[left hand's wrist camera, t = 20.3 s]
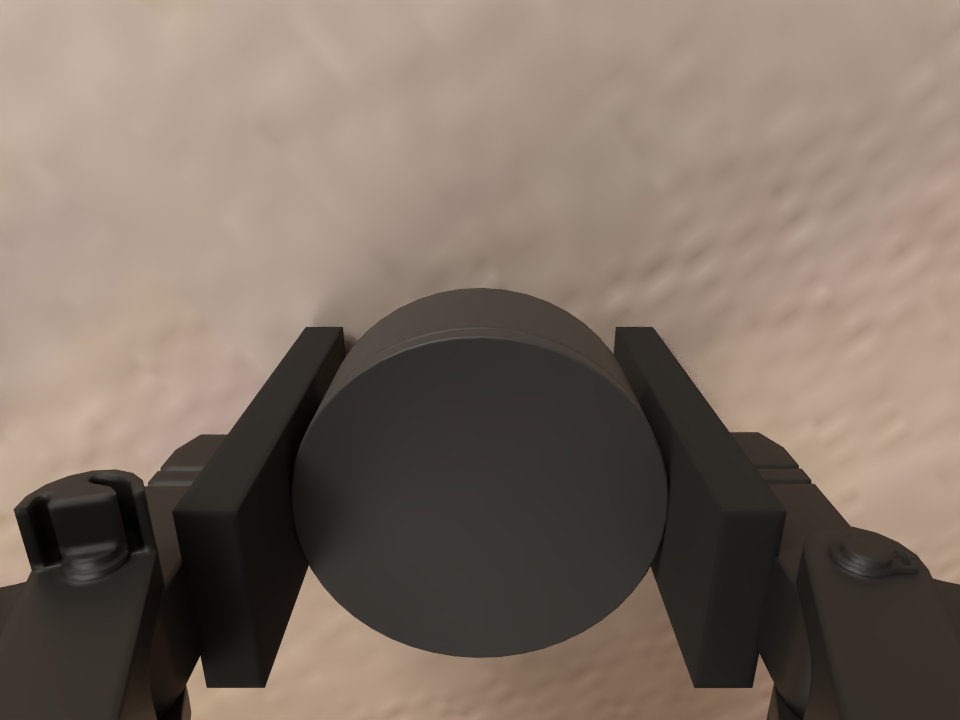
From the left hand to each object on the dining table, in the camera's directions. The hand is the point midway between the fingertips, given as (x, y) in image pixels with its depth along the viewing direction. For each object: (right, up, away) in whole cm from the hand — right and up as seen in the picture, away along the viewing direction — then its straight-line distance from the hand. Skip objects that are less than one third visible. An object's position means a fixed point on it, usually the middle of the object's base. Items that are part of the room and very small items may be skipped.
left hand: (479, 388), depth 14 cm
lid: (0, -2, -4) cm, 4 cm away
